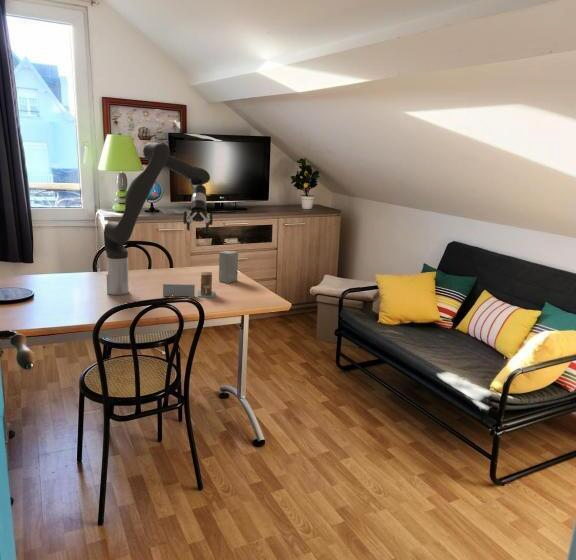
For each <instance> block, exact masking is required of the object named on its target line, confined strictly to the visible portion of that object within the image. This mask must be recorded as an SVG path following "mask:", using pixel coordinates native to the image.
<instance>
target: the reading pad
mask: <svg viewBox="0 0 576 560" xmlns="http://www.w3.org/2000/svg"><path fill="white" fill-rule="evenodd" d="M215 295H216V294H215V291H214V290H212V293H211V295H201V290H198V292H197V298H215V297H216V296H215Z"/></svg>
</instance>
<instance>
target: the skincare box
mask: <svg viewBox="0 0 576 560" xmlns="http://www.w3.org/2000/svg"><path fill="white" fill-rule="evenodd" d="M218 254H219V255H218V281H219V282H222V283H225V284H230V283H235V282H238V272H239V271H238V268H239V266H238V264H239V252H237V251H233V250H227V251H226V250H224V251H219V253H218Z"/></svg>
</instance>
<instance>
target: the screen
mask: <svg viewBox="0 0 576 560" xmlns="http://www.w3.org/2000/svg"><path fill="white" fill-rule="evenodd" d="M195 288H196V285H195V283H192V284H191V283H162V297H163V296H172V295H173V296H189V297H188V298H195V296H196V295H195V294H196V292H195Z"/></svg>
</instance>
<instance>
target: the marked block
mask: <svg viewBox="0 0 576 560" xmlns="http://www.w3.org/2000/svg"><path fill="white" fill-rule="evenodd" d="M200 276H201V277H200V291H201V295H211V293H212V291H213V290H212V289H213V287H212V285H213V272H212V271H211V272H210V271H201V274H200Z"/></svg>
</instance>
